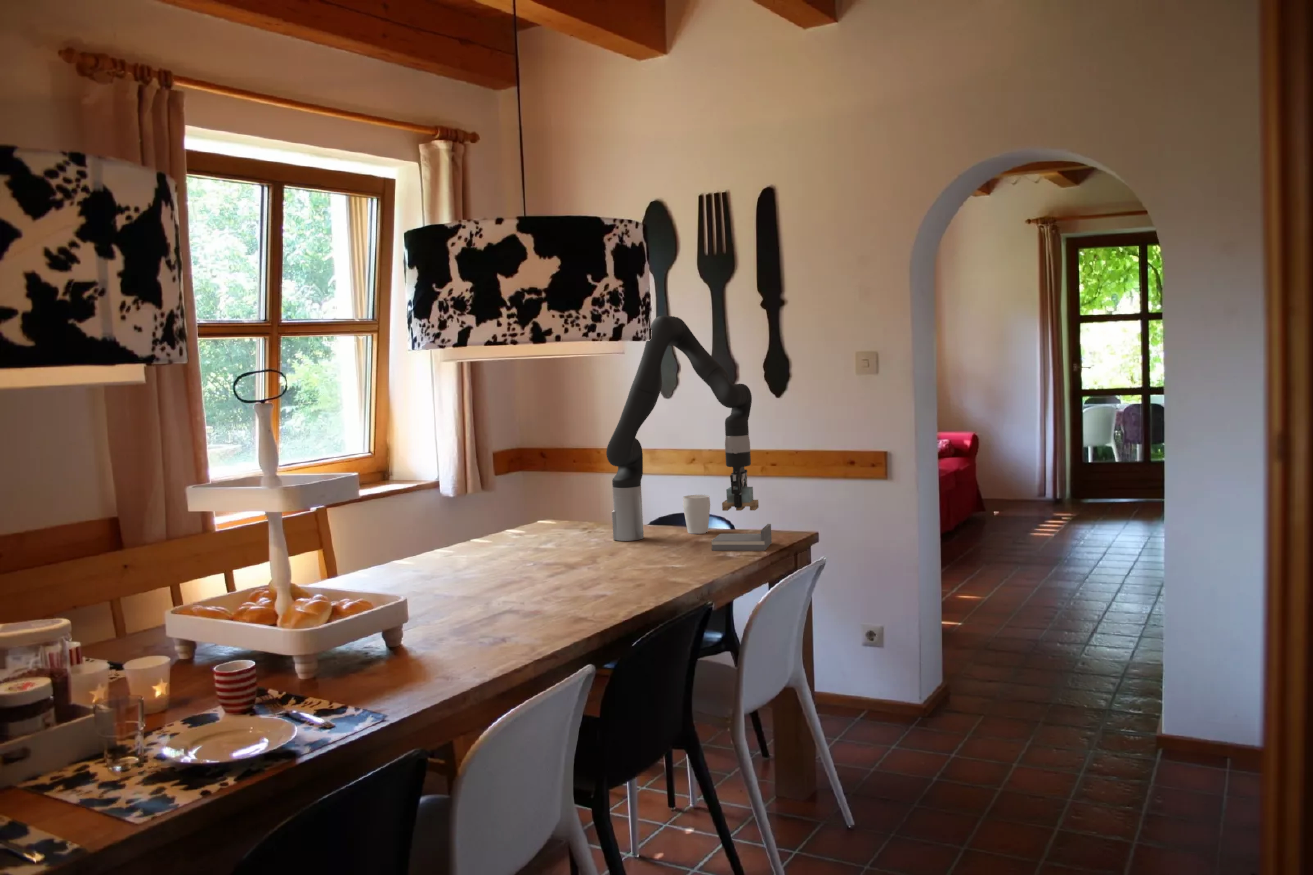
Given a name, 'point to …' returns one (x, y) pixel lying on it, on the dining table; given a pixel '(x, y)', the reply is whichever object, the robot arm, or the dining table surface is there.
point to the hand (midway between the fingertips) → (740, 505)
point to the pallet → (752, 505)
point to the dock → (743, 541)
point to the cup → (696, 513)
